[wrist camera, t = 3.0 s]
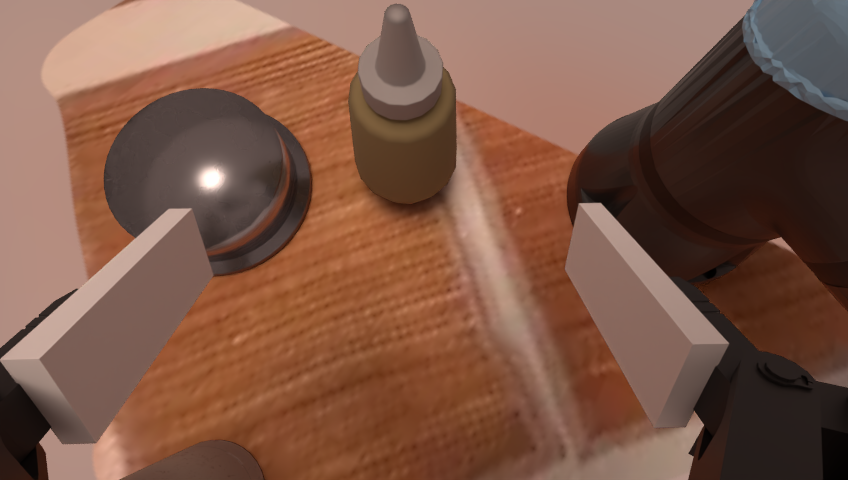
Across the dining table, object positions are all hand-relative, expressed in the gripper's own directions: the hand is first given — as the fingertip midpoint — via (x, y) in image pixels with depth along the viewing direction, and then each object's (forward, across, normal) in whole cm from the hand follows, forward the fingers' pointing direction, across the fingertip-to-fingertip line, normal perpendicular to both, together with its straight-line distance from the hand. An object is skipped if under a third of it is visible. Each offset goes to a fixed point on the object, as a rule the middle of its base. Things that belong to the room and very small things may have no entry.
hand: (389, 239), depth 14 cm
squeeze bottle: (+22, 0, -6) cm, 23 cm away
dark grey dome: (+21, -15, -7) cm, 27 cm away
